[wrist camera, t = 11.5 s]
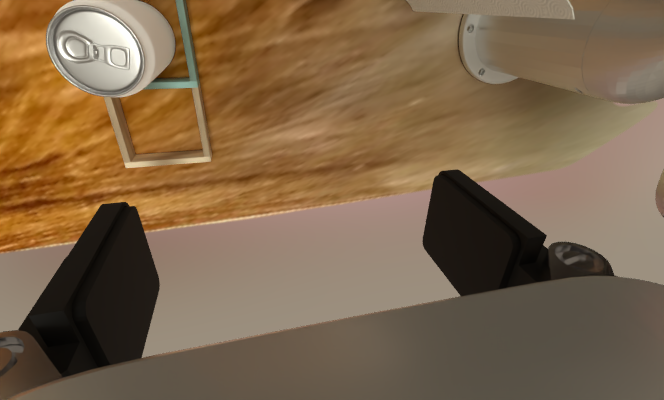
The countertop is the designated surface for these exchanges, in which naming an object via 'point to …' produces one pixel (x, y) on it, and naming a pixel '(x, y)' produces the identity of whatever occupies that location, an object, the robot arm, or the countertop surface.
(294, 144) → the countertop surface
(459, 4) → the paper towel roll
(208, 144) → the slot rack
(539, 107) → the countertop surface
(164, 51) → the can
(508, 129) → the countertop surface
